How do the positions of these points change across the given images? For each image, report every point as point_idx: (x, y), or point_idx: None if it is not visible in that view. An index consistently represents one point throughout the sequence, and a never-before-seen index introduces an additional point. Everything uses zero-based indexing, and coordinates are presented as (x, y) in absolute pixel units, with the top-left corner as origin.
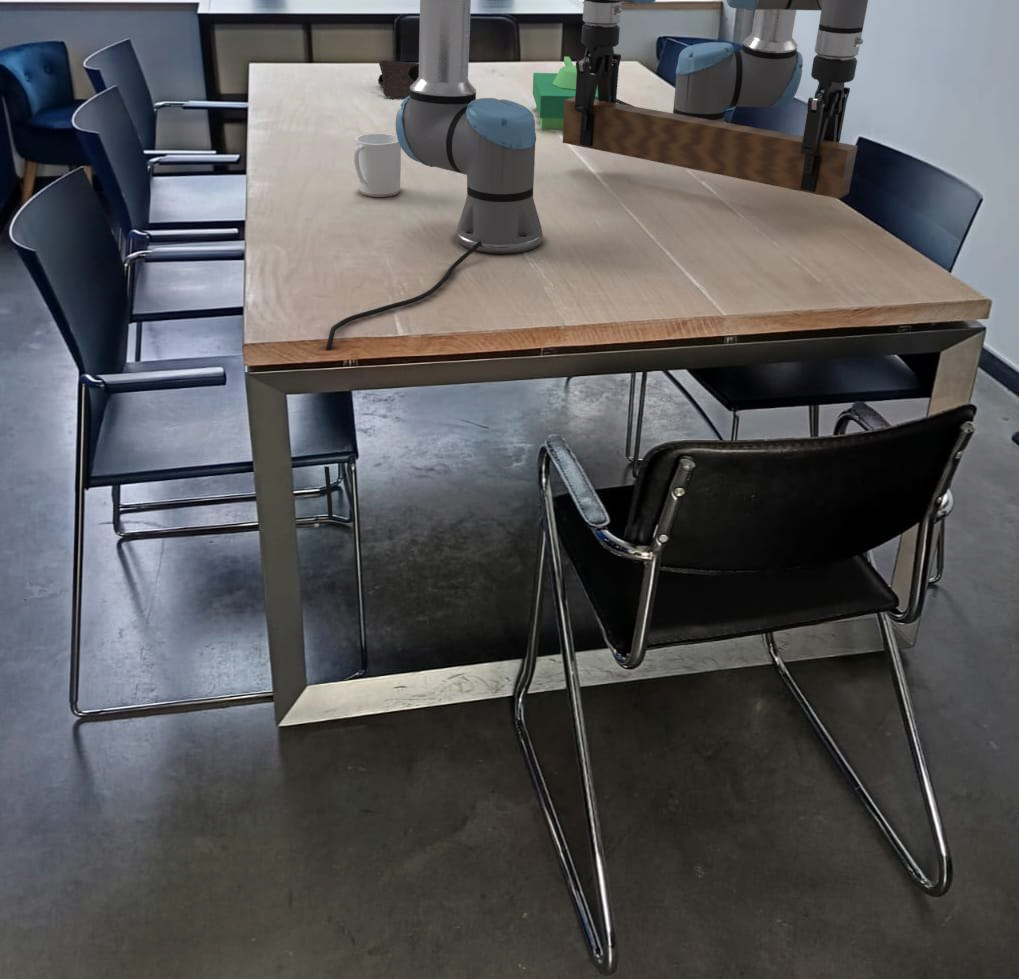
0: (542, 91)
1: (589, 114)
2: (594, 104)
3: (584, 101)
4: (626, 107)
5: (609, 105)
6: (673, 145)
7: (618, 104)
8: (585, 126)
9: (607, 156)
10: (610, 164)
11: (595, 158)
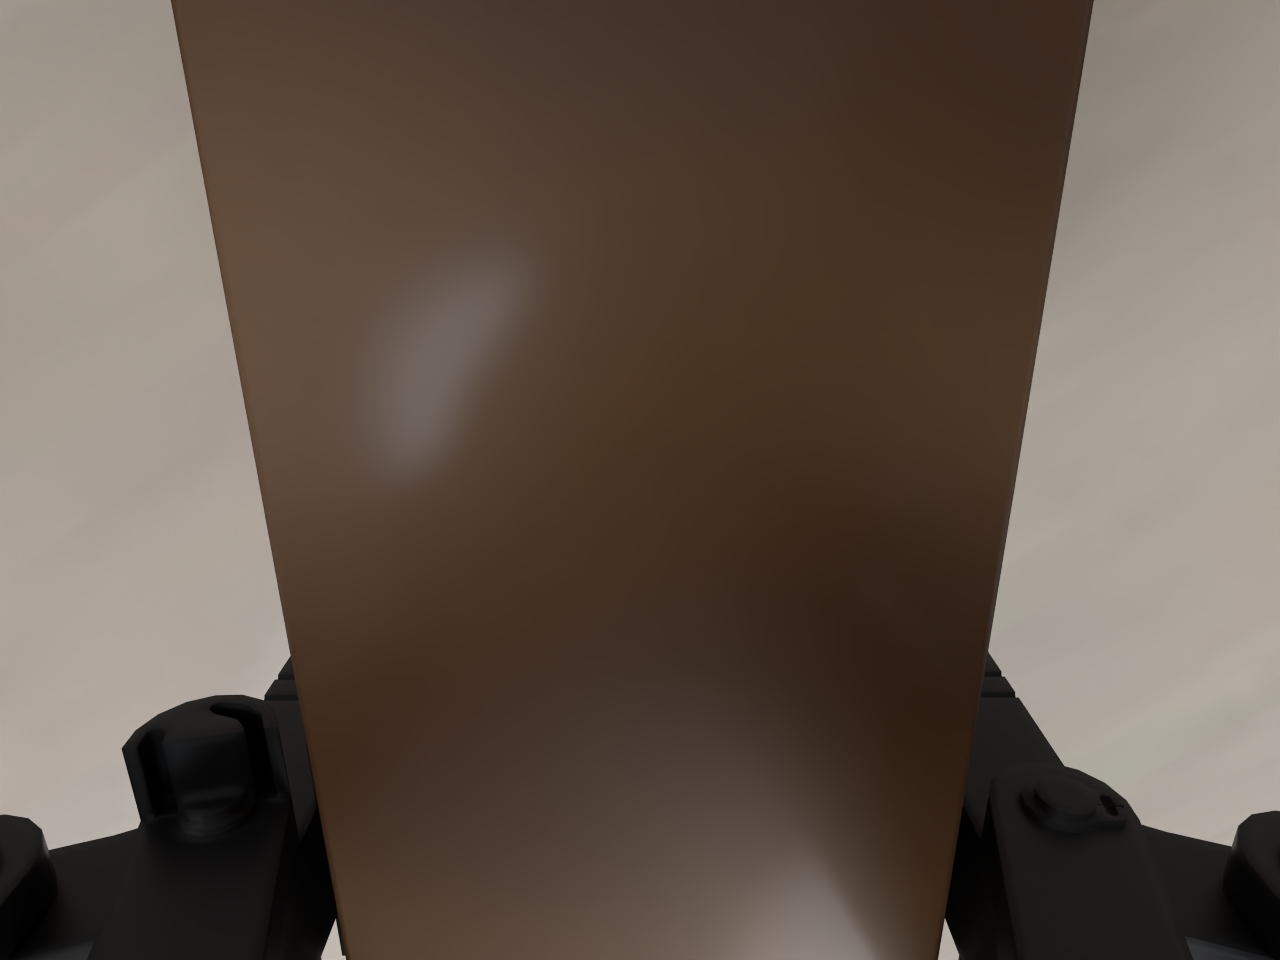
0: None
1: (983, 788)
2: (872, 940)
3: None
4: (561, 10)
5: (711, 626)
6: None
7: (375, 506)
8: (991, 669)
9: (62, 629)
10: (240, 478)
11: (197, 664)
